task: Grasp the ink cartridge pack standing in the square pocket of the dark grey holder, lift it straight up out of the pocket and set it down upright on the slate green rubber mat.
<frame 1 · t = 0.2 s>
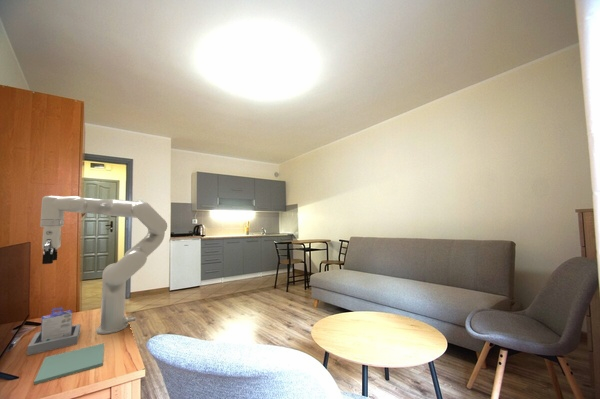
hand: (49, 262, 113), 35 cm above the cabinet, tool pointing down, fingers open, 9 cm apart
place mat: (73, 362, 97), on the cabinet
pocket holder: (56, 342, 112), on the cabinet
ink cartridge box: (56, 342, 112), resting in pocket holder
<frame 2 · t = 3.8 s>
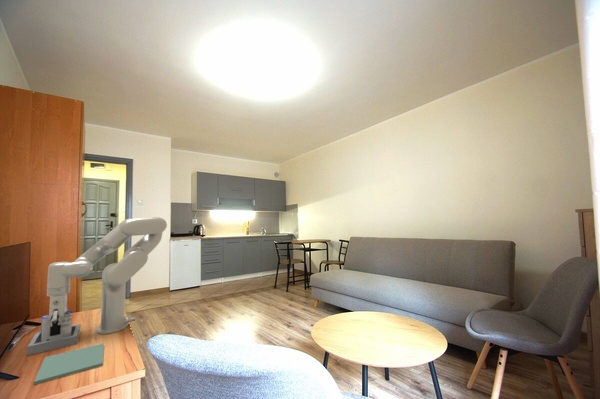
hand: (56, 331, 112), 5 cm above the cabinet, tool pointing down, fingers closed on ink cartridge box, 6 cm apart
ink cartridge box: (56, 342, 112), resting in pocket holder, touching gripper
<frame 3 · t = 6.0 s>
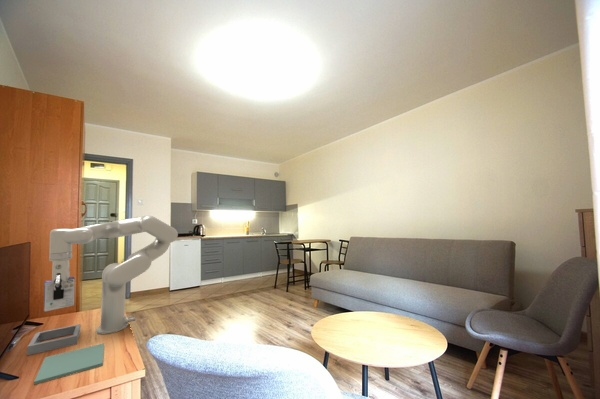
hand: (59, 296, 114), 20 cm above the cabinet, tool pointing down, fingers closed on ink cartridge box, 6 cm apart
ink cartridge box: (59, 307, 113), point 15 cm above the cabinet, touching gripper
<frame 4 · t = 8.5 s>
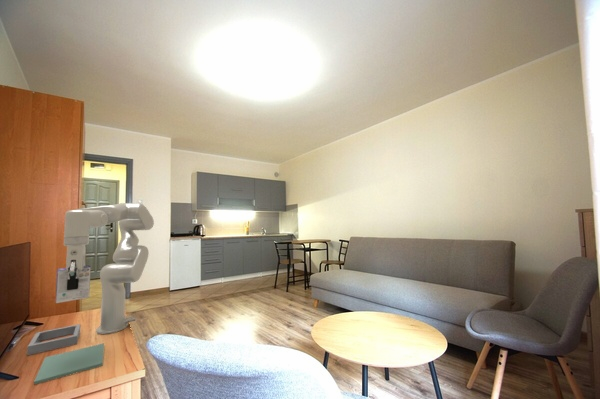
hand: (73, 287, 100), 28 cm above the cabinet, tool pointing down, fingers closed on ink cartridge box, 6 cm apart
ink cartridge box: (72, 299, 99), point 23 cm above the cabinet, touching gripper
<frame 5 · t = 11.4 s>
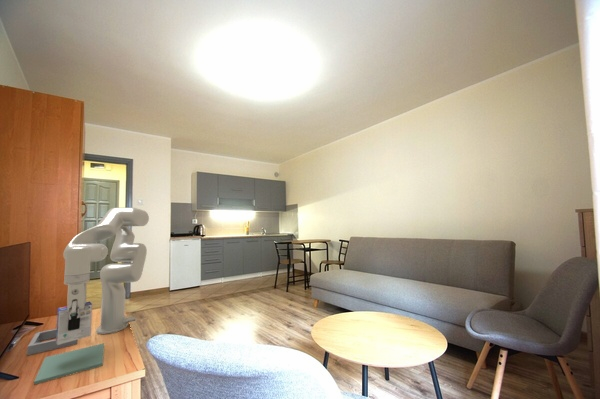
hand: (74, 325, 97), 14 cm above the cabinet, tool pointing down, fingers closed on ink cartridge box, 6 cm apart
ink cartridge box: (73, 339, 97), point 9 cm above the cabinet, touching gripper
when the fingers open (7 cm above the cabinet, at t = 13.7 s): ink cartridge box drops 1 cm, resting on place mat.
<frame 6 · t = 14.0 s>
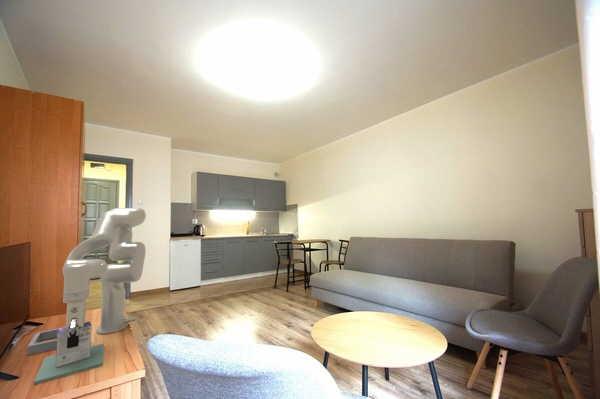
hand: (74, 341, 97), 8 cm above the cabinet, tool pointing down, fingers open, 9 cm apart
ink cartridge box: (73, 360, 97), point 1 cm above the cabinet, touching place mat
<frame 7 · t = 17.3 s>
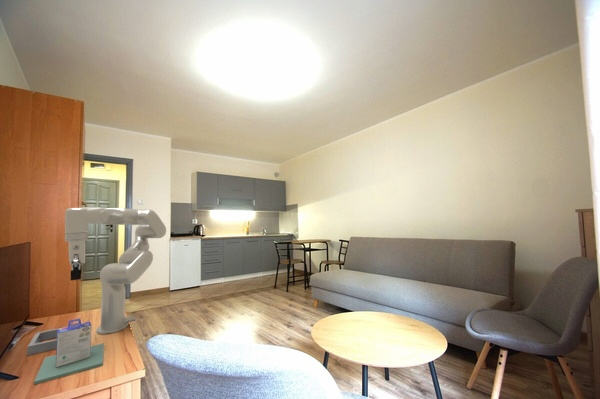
hand: (76, 277, 108), 30 cm above the cabinet, tool pointing down, fingers open, 9 cm apart
nothing on the cabinet moved.
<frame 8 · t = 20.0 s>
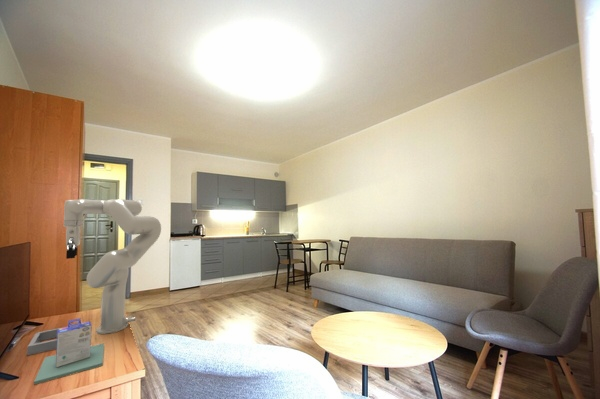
hand: (71, 256, 131), 34 cm above the cabinet, tool pointing down, fingers open, 9 cm apart
nothing on the cabinet moved.
at the end: ink cartridge box inside the target area on the place mat (0.4 cm from its centre), point 0.8 cm above the place mat's base; ink cartridge box tilted 0°; the gripper is holding nothing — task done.
